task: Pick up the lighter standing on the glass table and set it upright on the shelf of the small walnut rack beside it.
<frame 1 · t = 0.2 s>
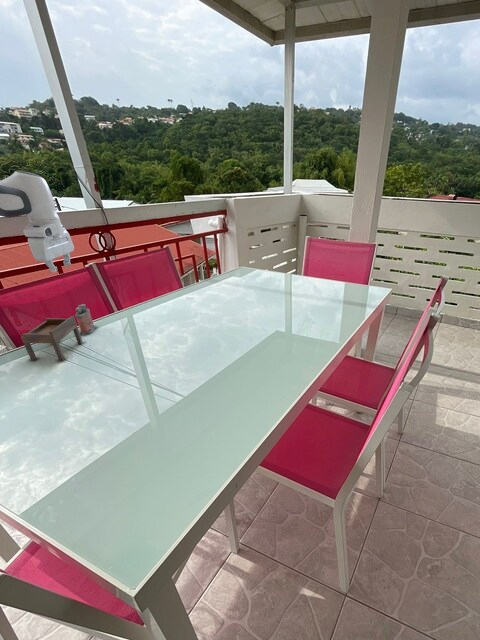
hand: (61, 269, 123), 21 cm above the table, tool pointing down, fingers open, 8 cm apart
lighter: (88, 331, 130), on the table
rack: (58, 351, 115), on the table
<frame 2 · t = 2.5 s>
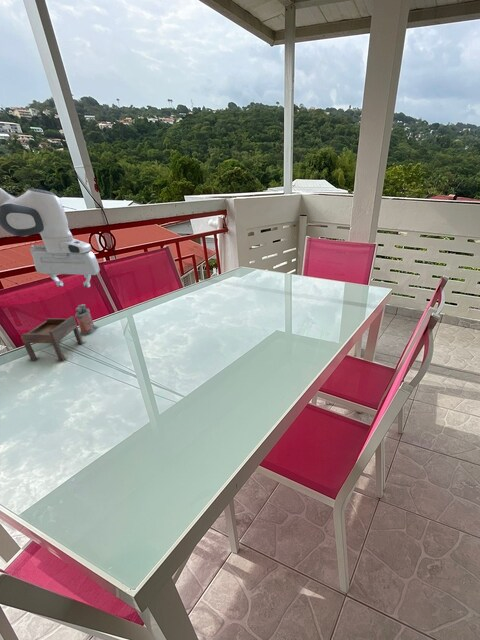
hand: (74, 286, 120), 17 cm above the table, tool pointing down, fingers open, 8 cm apart
nothing on the table moved.
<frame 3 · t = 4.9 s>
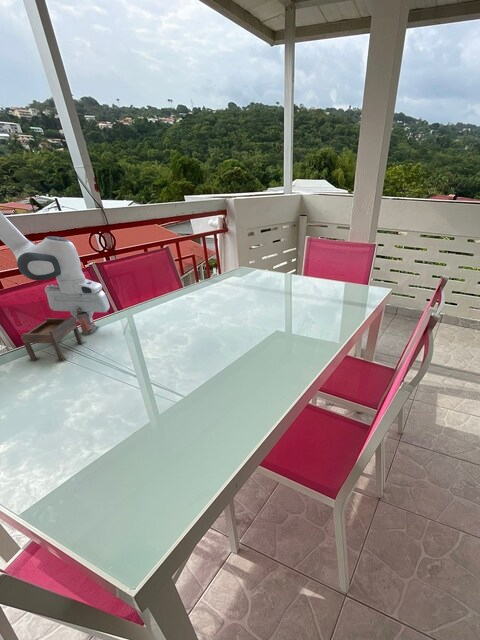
hand: (85, 322, 128), 4 cm above the table, tool pointing down, fingers closed on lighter, 2 cm apart
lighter: (89, 331, 130), on the table, touching gripper
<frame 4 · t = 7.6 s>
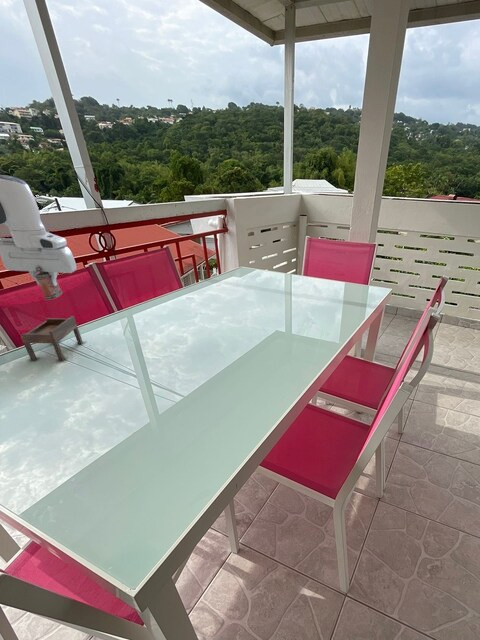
hand: (47, 285, 108), 21 cm above the table, tool pointing down, fingers closed on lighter, 2 cm apart
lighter: (54, 296, 111), point 17 cm above the table, touching gripper
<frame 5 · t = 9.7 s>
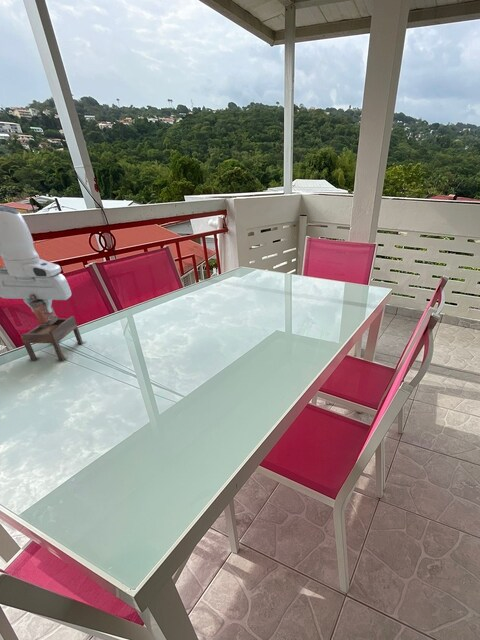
hand: (42, 312, 107), 14 cm above the table, tool pointing down, fingers closed on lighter, 2 cm apart
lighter: (49, 323, 109), point 10 cm above the table, touching gripper
when the fingers open (11 cm above the table, at t = 10.8 s): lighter stays where it is, resting on rack.
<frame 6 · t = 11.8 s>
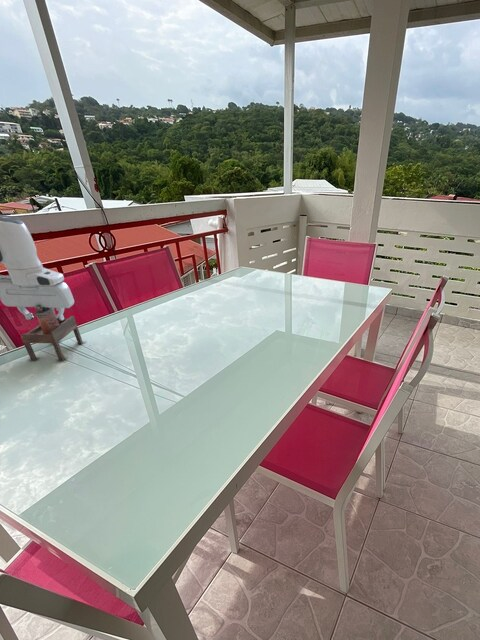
hand: (45, 319, 108), 11 cm above the table, tool pointing down, fingers open, 8 cm apart
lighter: (53, 332, 111), point 7 cm above the table, touching rack
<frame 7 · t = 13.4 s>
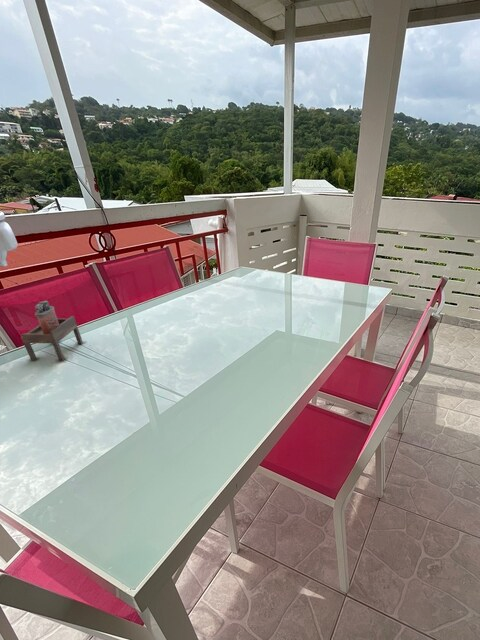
nothing on the table moved.
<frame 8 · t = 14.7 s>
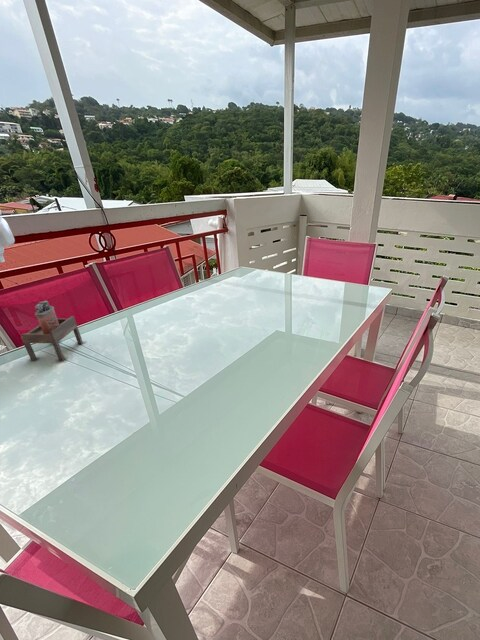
nothing on the table moved.
at the end: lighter inside the target area on the rack (0.7 cm from its centre), point 7.0 cm above the rack's base; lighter tilted 0°; the gripper is holding nothing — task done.
